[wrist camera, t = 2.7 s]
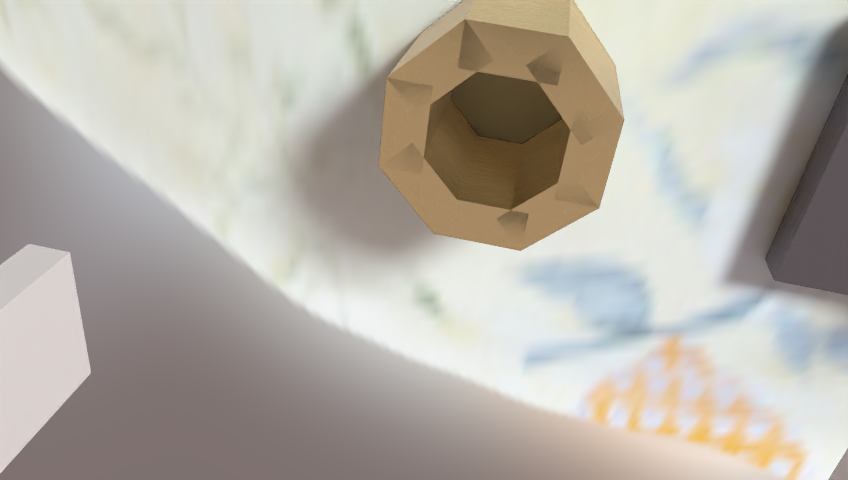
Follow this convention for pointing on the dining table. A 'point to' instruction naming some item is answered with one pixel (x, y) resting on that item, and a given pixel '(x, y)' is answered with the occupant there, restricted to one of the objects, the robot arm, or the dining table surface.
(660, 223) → the dining table surface
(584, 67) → the ring
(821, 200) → the shaft stand
